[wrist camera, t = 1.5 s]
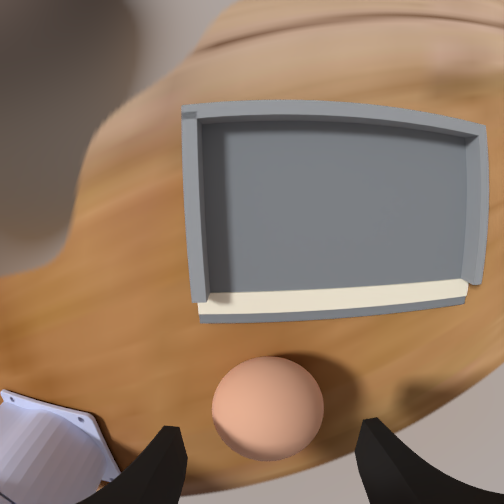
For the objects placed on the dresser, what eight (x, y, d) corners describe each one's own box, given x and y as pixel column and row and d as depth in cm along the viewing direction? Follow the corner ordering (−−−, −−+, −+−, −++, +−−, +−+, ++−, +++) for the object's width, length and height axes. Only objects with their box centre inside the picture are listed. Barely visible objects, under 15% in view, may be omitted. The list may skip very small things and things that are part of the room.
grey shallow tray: (201, 319, 14) (195, 335, 13) (189, 114, 12) (181, 105, 11) (460, 301, 14) (476, 311, 12) (467, 129, 12) (485, 125, 10)
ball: (222, 413, 15) (213, 481, 11) (213, 338, 14) (197, 403, 10) (311, 410, 15) (326, 476, 11) (317, 334, 14) (341, 397, 9)
